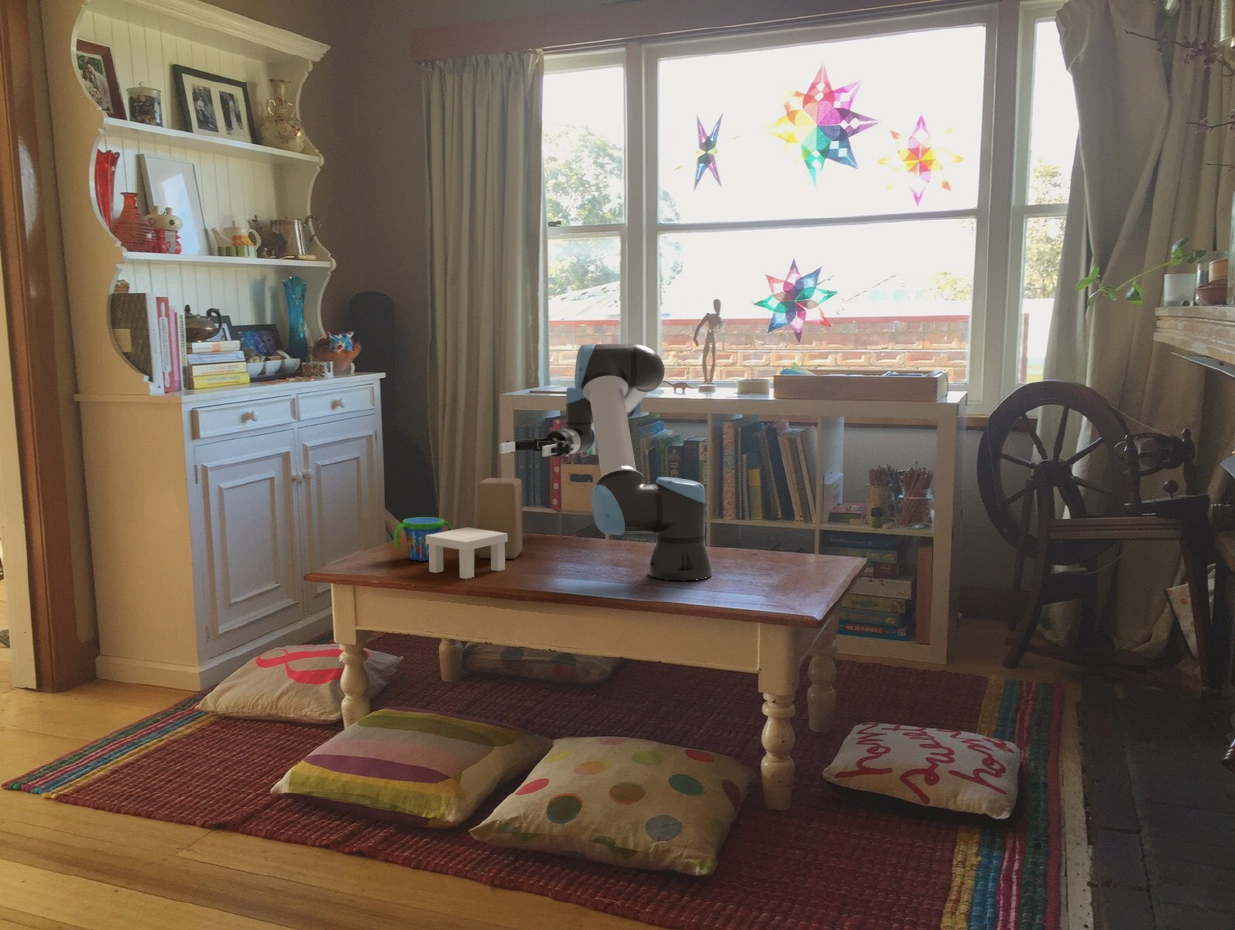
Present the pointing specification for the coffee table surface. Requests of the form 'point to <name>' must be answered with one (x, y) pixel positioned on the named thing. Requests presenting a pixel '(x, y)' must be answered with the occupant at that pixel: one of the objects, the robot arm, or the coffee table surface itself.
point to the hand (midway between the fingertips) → (521, 450)
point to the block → (501, 513)
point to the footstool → (466, 548)
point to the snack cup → (419, 535)
